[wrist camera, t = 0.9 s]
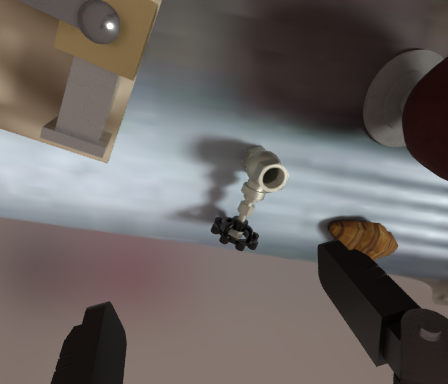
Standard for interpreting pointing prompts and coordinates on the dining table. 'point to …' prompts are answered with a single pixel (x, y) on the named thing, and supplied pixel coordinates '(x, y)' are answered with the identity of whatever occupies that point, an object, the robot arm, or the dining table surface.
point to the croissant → (364, 237)
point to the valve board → (41, 75)
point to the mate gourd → (412, 107)
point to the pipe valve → (98, 77)
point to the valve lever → (84, 17)
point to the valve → (252, 196)
